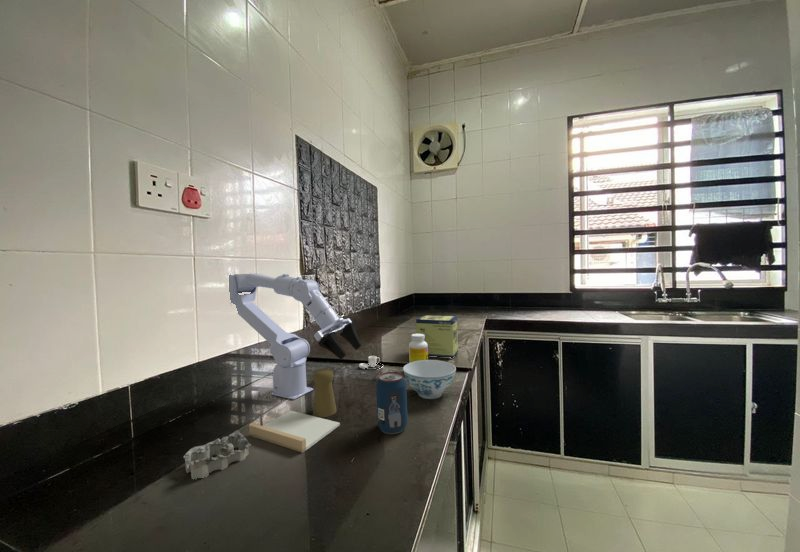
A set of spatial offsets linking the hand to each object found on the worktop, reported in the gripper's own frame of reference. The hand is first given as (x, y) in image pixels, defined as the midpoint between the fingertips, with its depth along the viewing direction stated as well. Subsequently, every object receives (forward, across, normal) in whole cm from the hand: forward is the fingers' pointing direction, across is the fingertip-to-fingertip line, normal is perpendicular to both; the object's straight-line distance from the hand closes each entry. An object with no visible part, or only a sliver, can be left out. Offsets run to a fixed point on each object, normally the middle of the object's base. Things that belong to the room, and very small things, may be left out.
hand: (351, 352), depth 87 cm
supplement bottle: (+18, +28, +4) cm, 33 cm away
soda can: (+21, -10, -5) cm, 24 cm away
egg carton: (+3, -34, +14) cm, 37 cm away
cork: (+8, -10, +10) cm, 17 cm away
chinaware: (+23, +10, -5) cm, 26 cm away
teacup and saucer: (+5, +27, +21) cm, 35 cm away
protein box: (+19, +50, +5) cm, 53 cm away
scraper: (+7, -20, +10) cm, 23 cm away
